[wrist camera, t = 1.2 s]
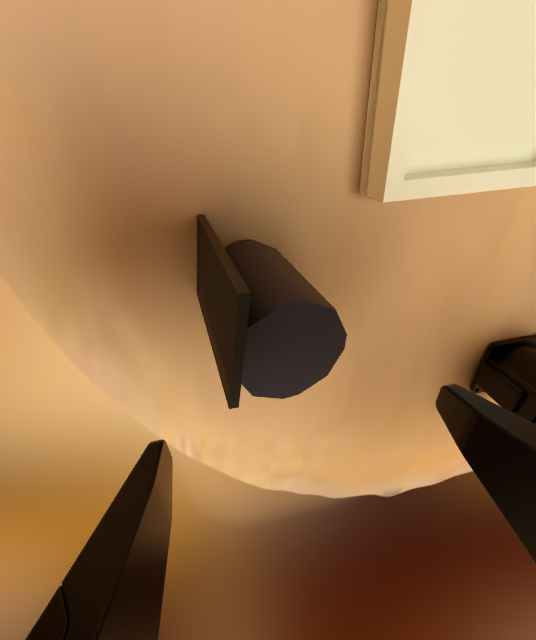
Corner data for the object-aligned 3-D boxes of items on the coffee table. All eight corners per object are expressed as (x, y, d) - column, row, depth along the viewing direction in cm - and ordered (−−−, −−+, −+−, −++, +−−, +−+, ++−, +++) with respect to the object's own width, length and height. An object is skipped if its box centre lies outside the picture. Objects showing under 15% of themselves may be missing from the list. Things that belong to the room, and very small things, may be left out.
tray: (640, -120, 13) (742, -180, 11) (527, 175, 20) (574, 181, 17) (391, -127, 12) (440, -196, 9) (359, 193, 18) (383, 202, 16)
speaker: (166, 293, 19) (167, 416, 11) (197, 211, 17) (228, 285, 9) (264, 322, 23) (320, 432, 15) (299, 257, 21) (390, 341, 12)
